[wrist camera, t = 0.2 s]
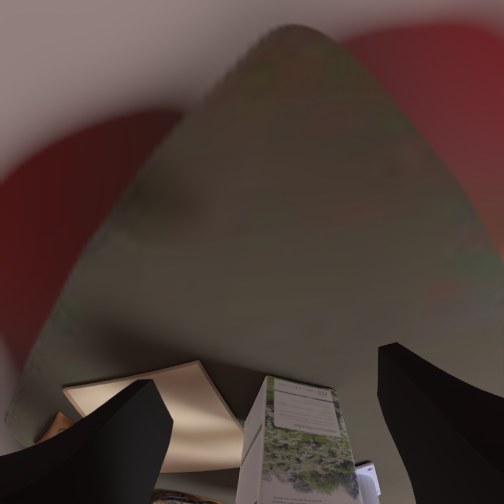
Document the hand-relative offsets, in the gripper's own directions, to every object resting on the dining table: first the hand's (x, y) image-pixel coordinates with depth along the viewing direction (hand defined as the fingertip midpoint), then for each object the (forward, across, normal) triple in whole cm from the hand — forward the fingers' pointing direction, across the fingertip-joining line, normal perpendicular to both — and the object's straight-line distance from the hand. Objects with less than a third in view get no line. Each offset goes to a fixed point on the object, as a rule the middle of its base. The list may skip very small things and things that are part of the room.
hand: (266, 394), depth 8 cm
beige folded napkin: (+10, +13, +13) cm, 21 cm away
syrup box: (+10, 0, +10) cm, 15 cm away
